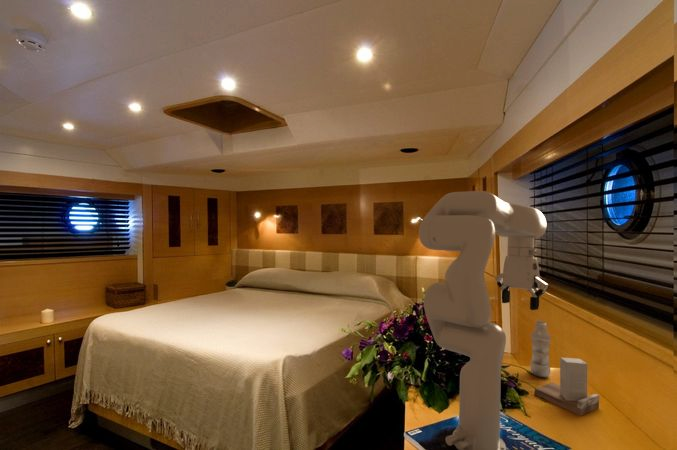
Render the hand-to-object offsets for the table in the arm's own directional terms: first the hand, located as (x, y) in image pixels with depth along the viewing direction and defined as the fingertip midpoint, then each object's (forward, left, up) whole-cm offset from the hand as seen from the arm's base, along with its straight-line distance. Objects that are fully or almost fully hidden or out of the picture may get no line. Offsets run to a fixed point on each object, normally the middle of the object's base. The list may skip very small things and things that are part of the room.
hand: (519, 306), depth 108 cm
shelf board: (+14, -7, -30) cm, 34 cm away
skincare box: (+14, -9, -28) cm, 33 cm away
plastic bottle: (+25, +8, -31) cm, 40 cm away
